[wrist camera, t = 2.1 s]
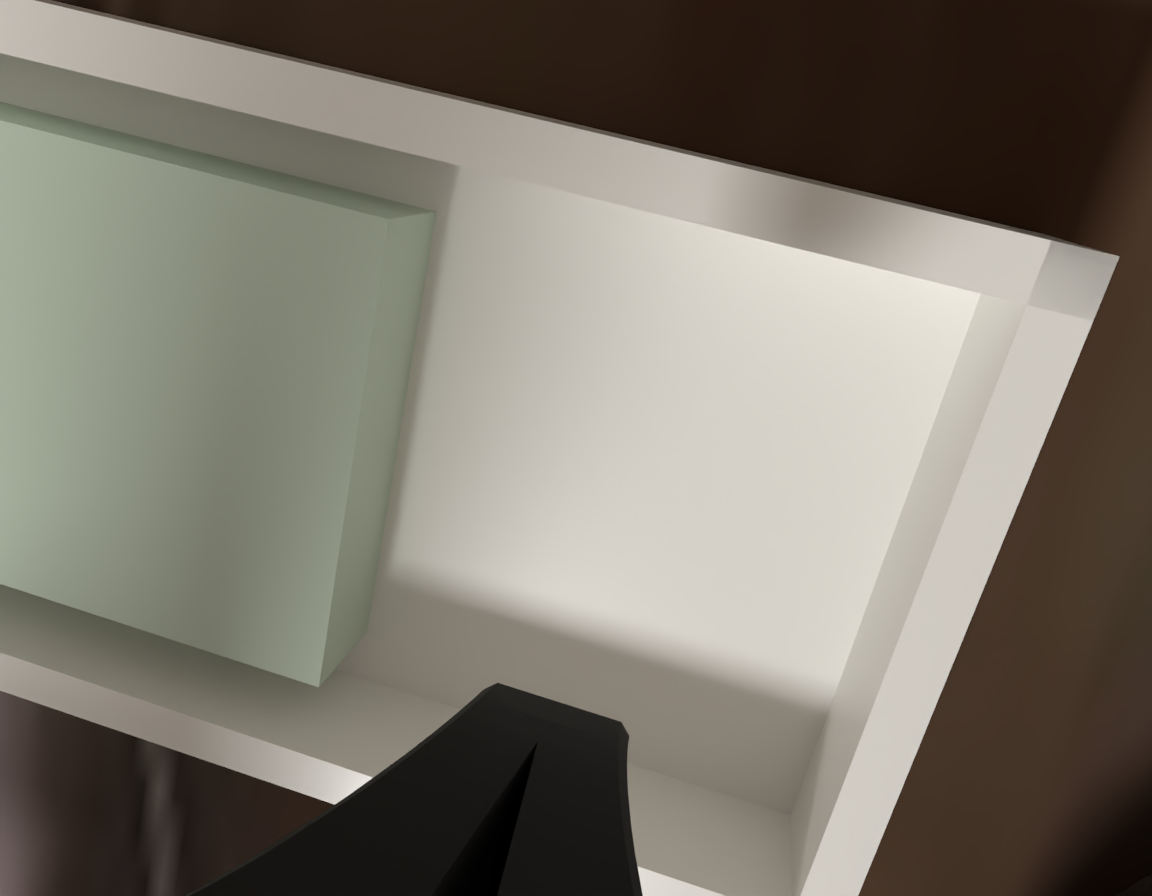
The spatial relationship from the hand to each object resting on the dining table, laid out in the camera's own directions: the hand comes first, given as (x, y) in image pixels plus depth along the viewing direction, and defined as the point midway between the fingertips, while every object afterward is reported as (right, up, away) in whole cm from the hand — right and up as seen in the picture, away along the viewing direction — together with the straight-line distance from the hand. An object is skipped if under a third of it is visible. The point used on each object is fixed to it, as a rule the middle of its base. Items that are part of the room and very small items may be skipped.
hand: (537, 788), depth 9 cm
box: (-4, +4, +9) cm, 11 cm away
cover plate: (-8, +5, +8) cm, 13 cm away
